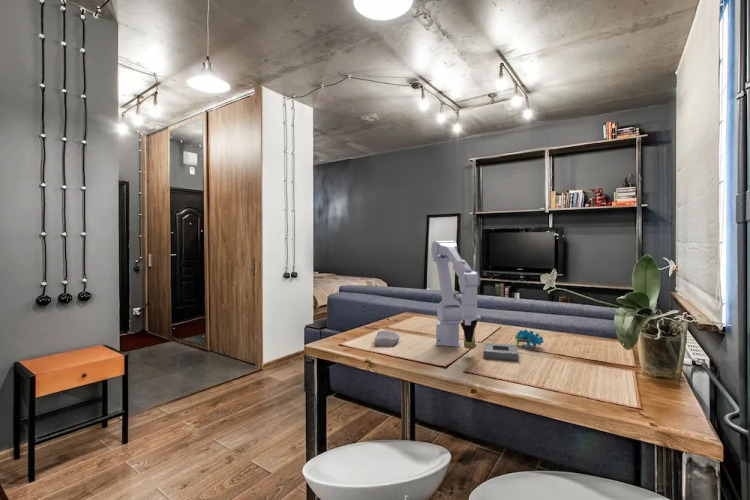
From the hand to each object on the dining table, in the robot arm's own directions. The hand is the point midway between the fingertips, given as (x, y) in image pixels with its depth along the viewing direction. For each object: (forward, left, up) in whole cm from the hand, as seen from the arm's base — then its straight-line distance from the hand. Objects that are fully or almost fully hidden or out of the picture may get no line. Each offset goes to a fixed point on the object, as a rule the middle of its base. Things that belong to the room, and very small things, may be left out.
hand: (469, 340), depth 135 cm
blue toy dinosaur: (+22, +20, -6) cm, 30 cm away
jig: (+11, +5, -6) cm, 13 cm away
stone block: (-35, +9, -7) cm, 37 cm away
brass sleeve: (0, 0, -3) cm, 3 cm away
